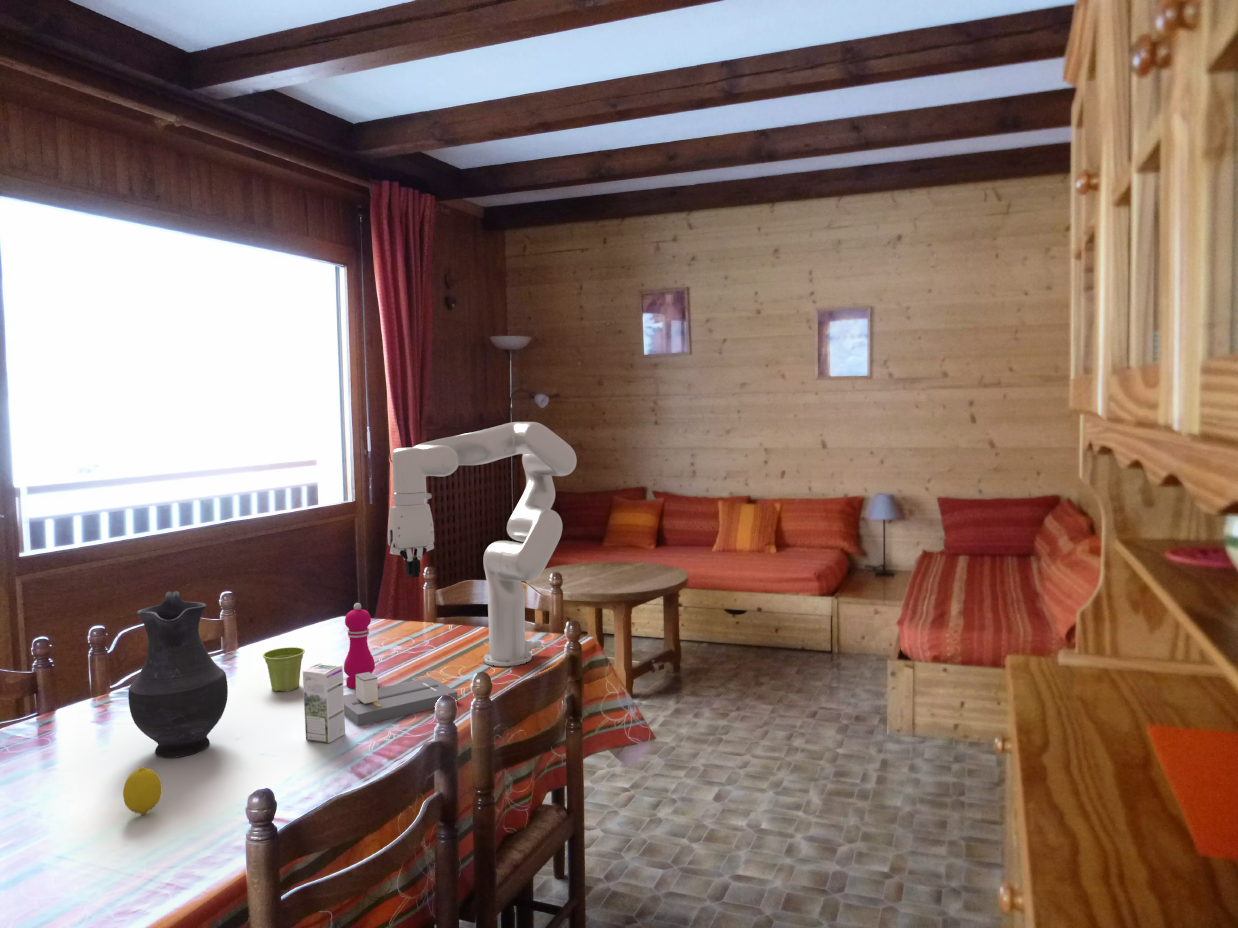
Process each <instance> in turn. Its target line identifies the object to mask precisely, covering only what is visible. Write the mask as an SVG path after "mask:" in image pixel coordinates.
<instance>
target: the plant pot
mask: <svg viewBox="0 0 1238 928" xmlns="http://www.w3.org/2000/svg"><path fill="white" fill-rule="evenodd" d="M305 651H306V650H305V649H304V648H301V647H297V646H296V647H293V646H291V647H289V646H287V647H280V648H274V649H271V650H268V651H266V652H264V653H263V654H262V658H263V659H264V660H265V664H266V665H267V669H268V676H269V681H270V686H271V690H272V691H273V692H279V691H281V692H288V691H293V690H296V689H297V687H300V679H301V670H302V668H301V667H302V660H303V658H304V654H305Z"/></svg>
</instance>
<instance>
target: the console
mask: <svg viewBox="0 0 1238 928" xmlns="http://www.w3.org/2000/svg"><path fill="white" fill-rule="evenodd" d="M445 694H448V695H450V696H452V697H454V698H455V699H456V700H457V702H459V701H458V700H459V699H458V698H459V697H458V691H457V690H455V689H453V688H451V687H450V686H448V685H446V684H444V683H442V682H440V681H438V680H437V679H435V678H433V677H431V676H430V677H424V678H420V679H415V680H411V681H406V682H401V683H395V684H392V685H387V686H382V687H378V701H375V702H370V703H365V704H364V703H363V702H361V701H360V700H359V699H357V698H356V692H354V693H350V694H349V693H348V694H345V695H344V717H346V718H347V719H348V720H350V722H352V723H353V724H355V725H356V726H357V727H360V726H365V725H369V724H373V723H377V722H382V721H385V720H391V719H394V718H398V717H399V718H400V717H402V716H407V715H412V714H416V713H421V712H423V711H428V710H432V709H435V708H434V706H435V703H436V702H437V700H438V699H439V698H440V697H441V696H442V695H445Z"/></svg>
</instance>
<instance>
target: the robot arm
mask: <svg viewBox="0 0 1238 928" xmlns="http://www.w3.org/2000/svg"><path fill="white" fill-rule="evenodd" d="M391 455H392V456H391V461H392V484H393V487H392V488H393V504H394V505H392V506H390V508H389V515H388V524H387V525H388V526H387V543H388V546H389V547H390V549H389V554H391V555H394V556H395V555H397V556H400V557H401V558H402V559H403V560H404V561H405V573H406V575H407V577H409V578H411V579H412V578H413V579H414V578H419V577H420V573H421V560H423V556H425V554H426V552H429V551H431V550H434V549H435V545H434V543H435V532H434V531H435V528H434V521H433V514H432V511H431V507H430V504H429V503H428V500H429V499H432V496H433V495H432V493H429V492H428V491H427V477H432V476H433V477H447V476H450V475H452V474H453V473H454V472H455V471H457V469H458V468H459V466H478V465H485V464H489V463H493V462H496V461H498V460H501V459H505V458H509V457H512V456H516V455H517V456H518V455H522V457H521V462H522V467H523V469H524V470H523V471H524V475H525V479H526V480H525V482H526V484H525V488H524V491H523V493H522V495H521V497H520V499H519V501H518V502H517V504H516V506H515V508H514V510H513V511H512V514H511V515H510V517H509V519H508V521H507V525H506V532H507V535H508V536H509V537H510V538H511V539H513V540H515V541H511V540H497V541H494V542H492V543H491V544H490V543H489V545H488V546H487V548H486V549H485V551H484V554H483V558H482V559H483V570H484V573H485V579H486V584H487V586H486V587H487V611H488V612H487V613H488V616H487V619H488V620H487V621H488V652H487V653H485V654H484V656H483V658H482V659H483V662H484V663H485V664H486V665H489V666H493V665H494V666H493V667H513V666H514V665H515V666H521V665H523V664H527V663H528V662H530V661H531V660H532V653H531V651H532V650H536V649H537V650H538V649H541V648H542V642H541V640H535V641H532V640H526V619H525V618H526V615H525V613H526V611H525V590H524V586H523V583H522V582H533V581H535V580H537V579H538V578H539V577H540V575H542V574H543V572H544V570H545V568H546V567H547V565H548V563H549V561H550V559H551V557H552V556H553V553H554V552H555V550H556V548H557V545H558V544H559V541H560V539H561V537H562V534H563V533H562V532H563V521H562V518H561V516H560V514H559V513H558V512H557V511H555V510H553V509H552V507H553V505H554V503H555V499H556V488H555V484H554V481H553V476H554V477H566V476H568V475H570V474H572V473H573V471H574V470H575V469H576V467H577V463H578V462H577V459H578V458H577V455H576V452H575V450H574V449H573V448H572V446H571V445H570V444H569V443H567V442H566V441H565V440H564V439H563V438H561V437H560V436H558V435H557V434H556V433H555V432H554V431H552V429H551V430H550V428H548V427H547V426H546V425H544V424H542V423H540V422H536V421H513V422H508V423H503V424H501V425H496V426H493V427H489V428H484V429H482V430H477V431H473V432H472V431H471V432H468V433H462V434H459V435H453V436H449V437H448V436H447V437H442V438H438V439H434V440H430V441H425V442H422V443H419V444H417V445H414V446H413V447H398V448H395V449H394V450H393V451H392V453H391ZM526 662H527V663H526ZM520 664H521V665H520ZM515 666H514V667H515Z"/></svg>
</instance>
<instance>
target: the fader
mask: <svg viewBox="0 0 1238 928" xmlns="http://www.w3.org/2000/svg"><path fill="white" fill-rule="evenodd" d="M355 676H356V688H355V693H356V698H357V699H359V700H360V701H361V702H363V703H364V704H365V703H370V702H375V701H378V688H379V687H378V676H377V675H375V674H373V673H370V672H366V673H361V674H356V675H355Z"/></svg>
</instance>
